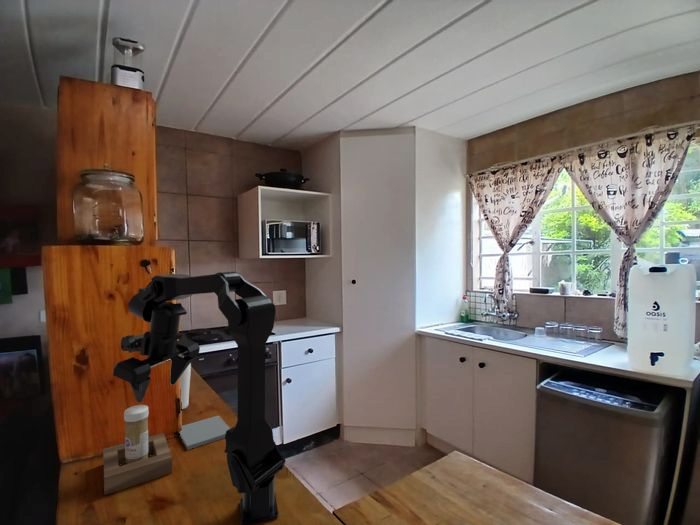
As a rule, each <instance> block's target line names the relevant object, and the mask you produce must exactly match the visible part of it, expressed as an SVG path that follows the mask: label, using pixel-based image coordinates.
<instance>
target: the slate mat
mask: <svg viewBox="0 0 700 525" xmlns="http://www.w3.org/2000/svg"><path fill="white" fill-rule="evenodd" d="M181 426H182V430H181V431H180V432H179V433H180V436H179V438H180V437H181V438H180V440H181V439H182V440H181V442H182V443H183V445H184V447H185V449H186V450H187V451H189V450H192V448H193V449H195V448H198V447H201V445H202V446H204V445H208V444H210V443H213V442H217V441H219V440H223V439H225V435H226V431H227V430H229V429H231V427H230V426H229V425H228V424H227V423H226V422H225V421H224V420H223V418H222V417H221V416H220V415H215V416H213V417H208V418H205V419H200V420H198V421H195V422H191V423H187V424H183V425H181Z"/></svg>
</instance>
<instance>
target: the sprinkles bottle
mask: <svg viewBox="0 0 700 525" xmlns="http://www.w3.org/2000/svg"><path fill="white" fill-rule="evenodd" d="M148 419H149V406H148V405H145V404H136V405H132V406H130V407H128V408H126V409H125V410H124V413H123V420H124V424H125V426H124V427H125V428H124V429H125V431H124V432H125V438H124V443H125V458H126V462H125V463H126V464H125V465H127V464H130V463H133V462H137V461H140V460H143V459H147V458H149V457H148V437H149V427H148V424H149V423H148V422H149V421H148Z"/></svg>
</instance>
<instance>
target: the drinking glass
mask: <svg viewBox="0 0 700 525" xmlns="http://www.w3.org/2000/svg"><path fill="white" fill-rule="evenodd" d="M191 372H192V362H191V363H190V364H189V365H188V367H187V368H186V369H185V371H184V372H183V373H182V375H181V376H180V389H181V402H182V410H184V409H186V408H188V406H189V404H190V403H189V396H190V385H191V374H192V373H191Z"/></svg>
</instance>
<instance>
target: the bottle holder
mask: <svg viewBox="0 0 700 525" xmlns="http://www.w3.org/2000/svg"><path fill="white" fill-rule="evenodd" d="M102 451H103V456H102V457H103V489H104V490H103V493H104V495H103V496H107V495H109V494H113V493H116V492H118V491H122V490H125V489H127V488H128V489H129V488H130V487H133V486H137V485H139V484H143V483H145V482H148V481H152V480H155V479H158V478H162V477H164V476H166V475H169V474H172V473H173V456H172V452H171V450H170V447H169V444H168V442H167V439H166V436H165V433H164V432H161V433H157V434H153V435H151V436H148V456H149V457H148V458H147V459H143V460H140V461H137V462H133V463H130V464H127V465H126V464H124V463H125V462H126V458H125V442H124V443H121V444H117V445H114V446H109V447H105V448H103V450H102ZM150 455H154V456H150ZM120 464H122V465H120Z"/></svg>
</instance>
